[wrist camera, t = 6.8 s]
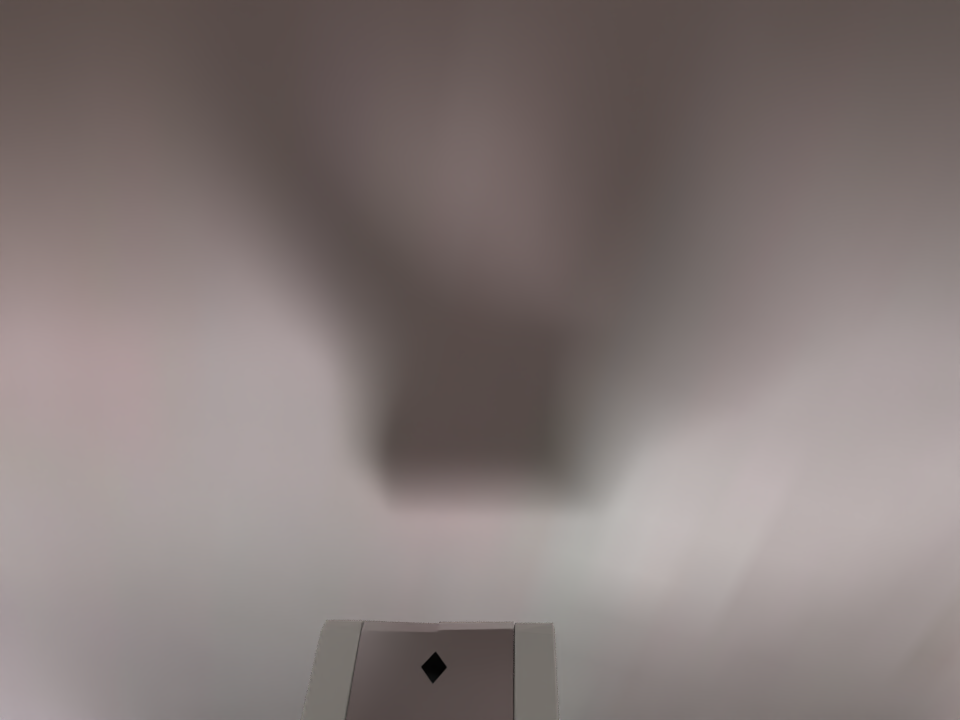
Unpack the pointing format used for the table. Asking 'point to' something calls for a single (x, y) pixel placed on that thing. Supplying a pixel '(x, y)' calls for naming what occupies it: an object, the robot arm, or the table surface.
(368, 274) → the table surface
